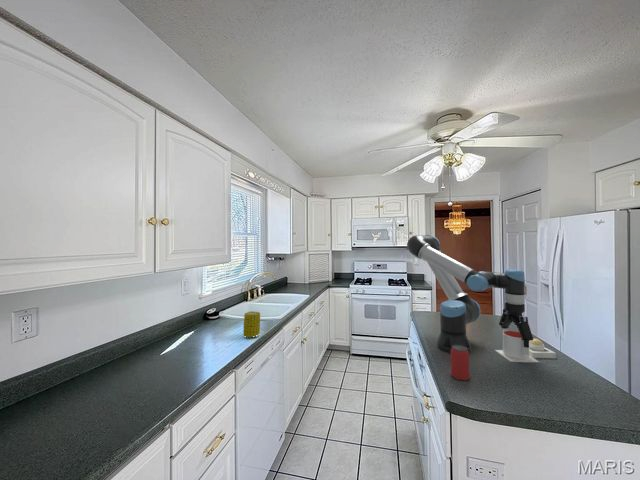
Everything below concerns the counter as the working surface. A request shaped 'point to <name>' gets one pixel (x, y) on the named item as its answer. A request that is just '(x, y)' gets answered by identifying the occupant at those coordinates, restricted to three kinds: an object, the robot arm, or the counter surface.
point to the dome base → (542, 353)
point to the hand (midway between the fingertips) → (514, 347)
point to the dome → (536, 345)
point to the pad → (515, 358)
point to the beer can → (460, 362)
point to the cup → (513, 345)
